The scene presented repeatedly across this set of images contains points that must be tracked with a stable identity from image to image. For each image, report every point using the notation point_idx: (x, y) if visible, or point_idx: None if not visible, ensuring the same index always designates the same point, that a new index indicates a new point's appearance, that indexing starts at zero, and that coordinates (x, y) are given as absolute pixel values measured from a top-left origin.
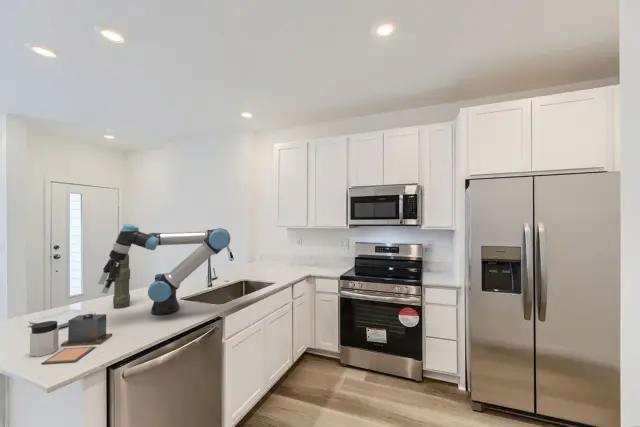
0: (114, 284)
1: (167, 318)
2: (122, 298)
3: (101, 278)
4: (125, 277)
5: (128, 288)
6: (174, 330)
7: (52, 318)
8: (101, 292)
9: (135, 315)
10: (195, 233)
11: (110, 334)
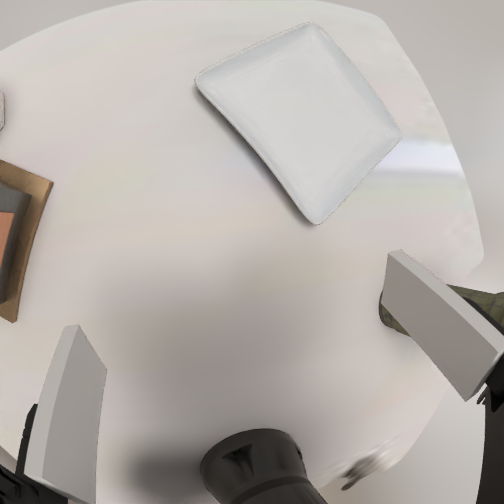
0: (479, 293)
1: (151, 475)
2: None
3: (435, 304)
4: None
5: None
6: None
7: (346, 81)
8: (63, 331)
9: (251, 382)
10: None
11: (4, 317)
